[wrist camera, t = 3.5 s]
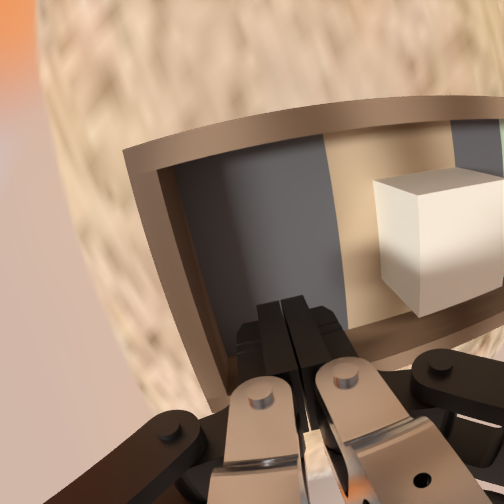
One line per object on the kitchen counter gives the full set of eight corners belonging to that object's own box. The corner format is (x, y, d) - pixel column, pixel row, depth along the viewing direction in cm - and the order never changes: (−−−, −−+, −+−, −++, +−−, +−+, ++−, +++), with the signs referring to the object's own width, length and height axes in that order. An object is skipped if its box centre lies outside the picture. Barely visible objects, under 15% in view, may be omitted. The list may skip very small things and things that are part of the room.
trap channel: (215, 362, 18) (212, 412, 14) (150, 147, 14) (122, 150, 10) (547, 260, 17) (580, 279, 14) (546, 105, 13) (586, 108, 10)
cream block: (381, 278, 16) (418, 317, 12) (372, 180, 14) (417, 195, 10) (457, 256, 15) (502, 286, 12) (455, 166, 14) (507, 179, 10)
